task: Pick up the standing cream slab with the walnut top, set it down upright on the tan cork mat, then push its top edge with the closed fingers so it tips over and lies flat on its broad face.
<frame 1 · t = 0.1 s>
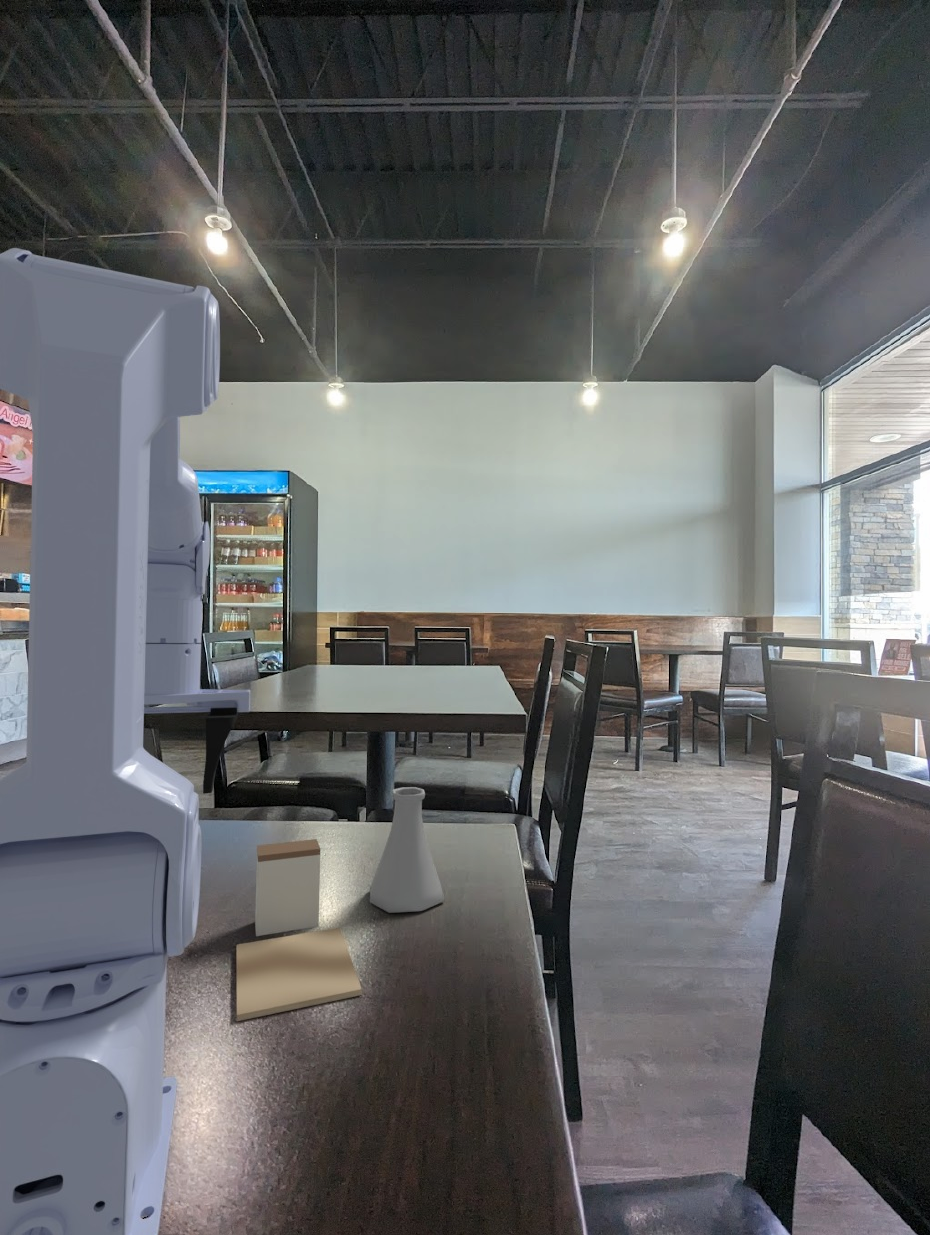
hand: (162, 793, 53), 10 cm above the table, tool pointing down, fingers open, 7 cm apart
cork mat: (295, 970, 43), on the table
flask: (406, 899, 55), on the table
cream slab: (286, 924, 50), on the table
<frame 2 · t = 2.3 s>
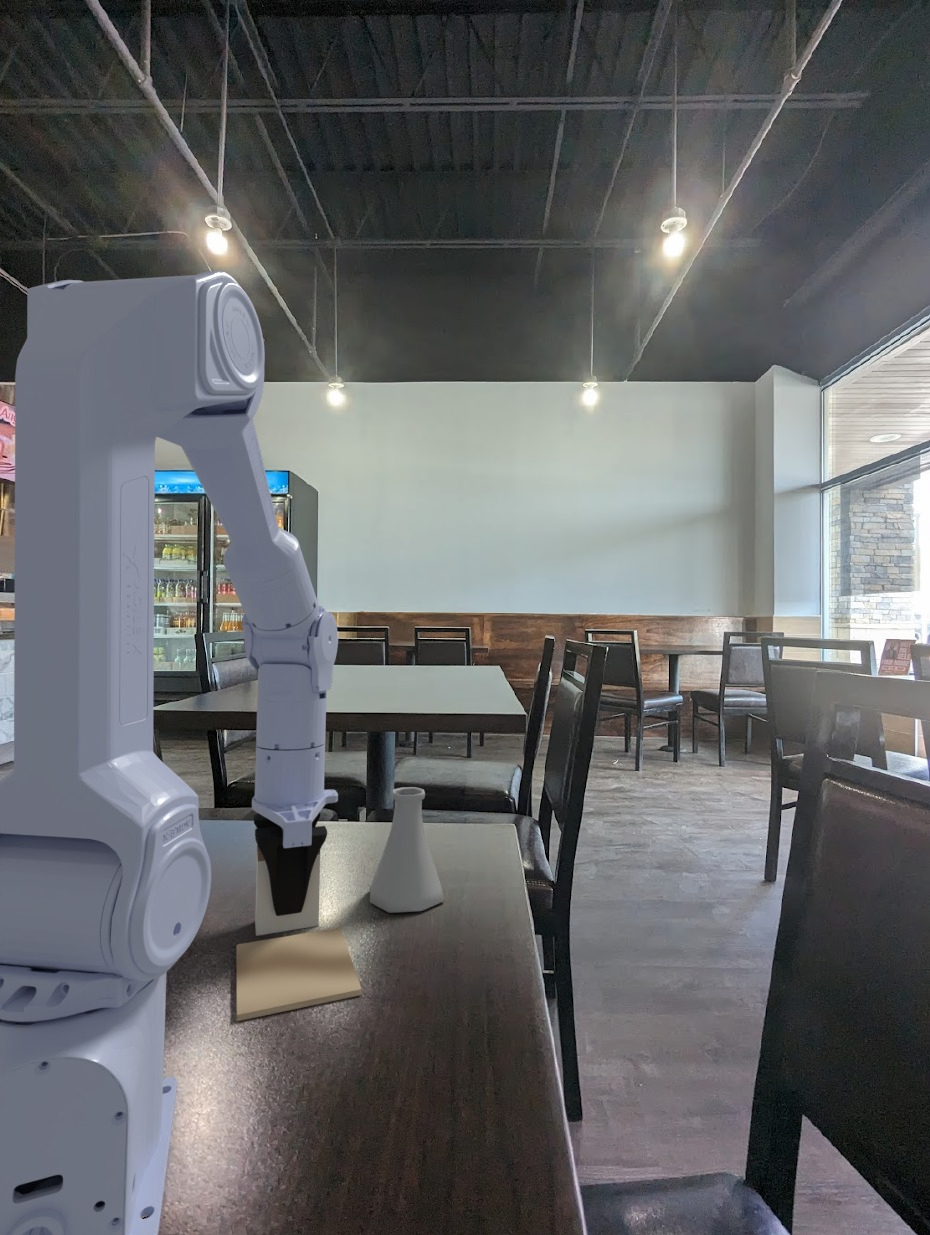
hand: (287, 904, 50), 2 cm above the table, tool pointing down, fingers closed on cream slab, 2 cm apart
cream slab: (286, 923, 50), on the table, touching gripper
everything else where it was.
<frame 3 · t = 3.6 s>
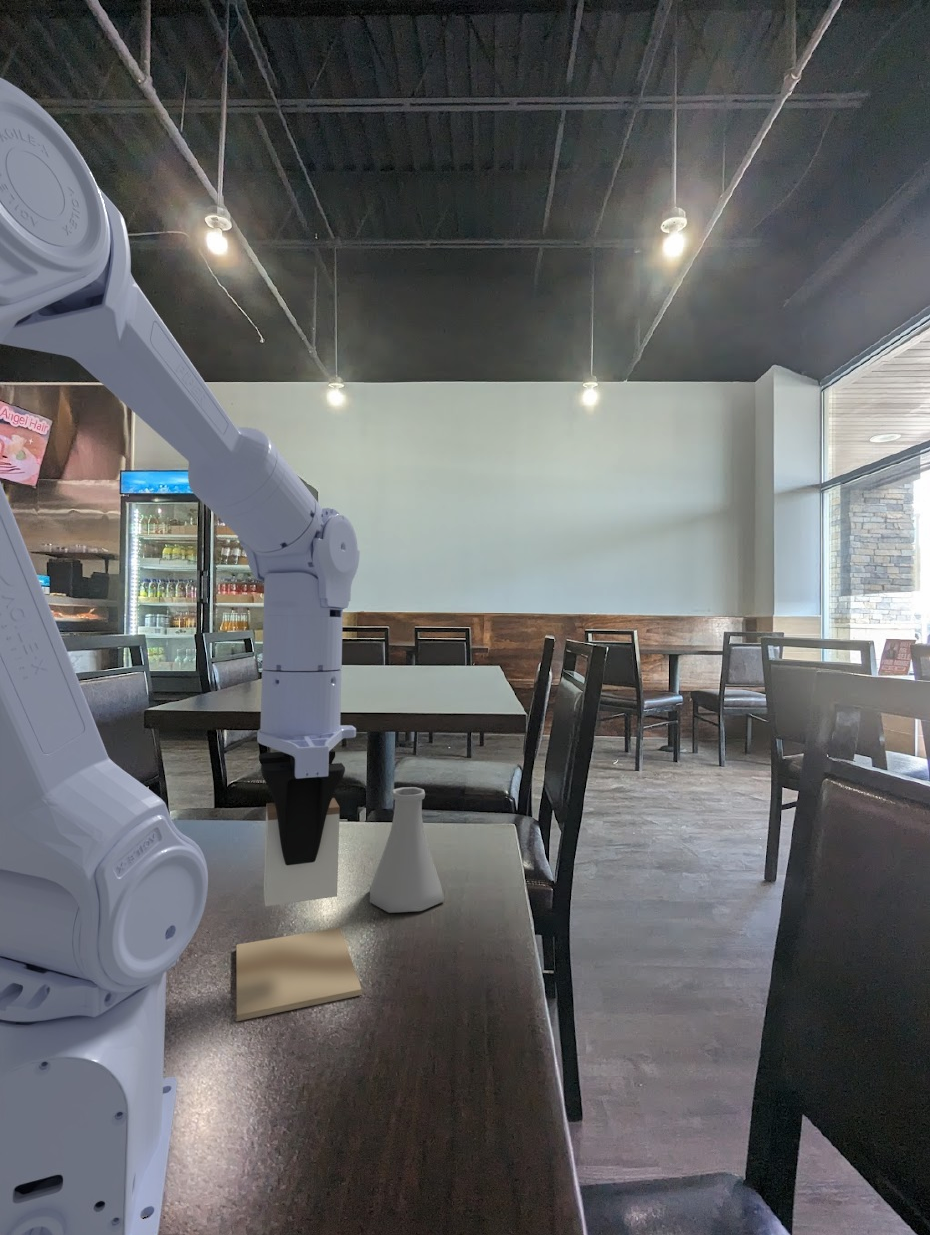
hand: (297, 854, 43), 8 cm above the table, tool pointing down, fingers closed on cream slab, 2 cm apart
cream slab: (300, 894, 43), point 6 cm above the table, touching gripper
everything else where it was.
when the fingers open (3 cm above the table, at t = 4.8 s): cream slab stays where it is, resting on cork mat.
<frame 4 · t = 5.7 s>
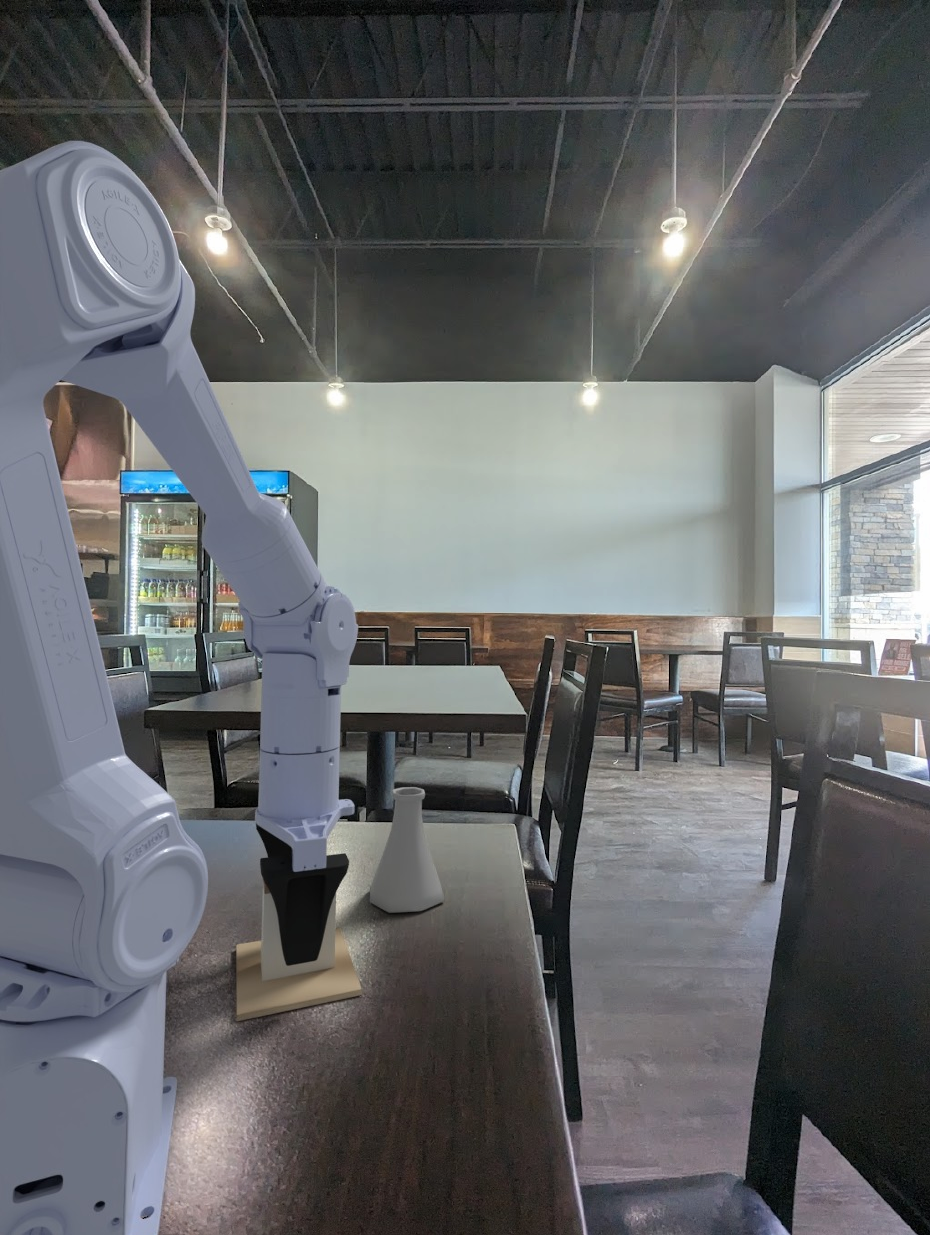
hand: (295, 933, 43), 3 cm above the table, tool pointing down, fingers open, 7 cm apart
cream slab: (297, 964, 43), resting on cork mat
everything else where it was.
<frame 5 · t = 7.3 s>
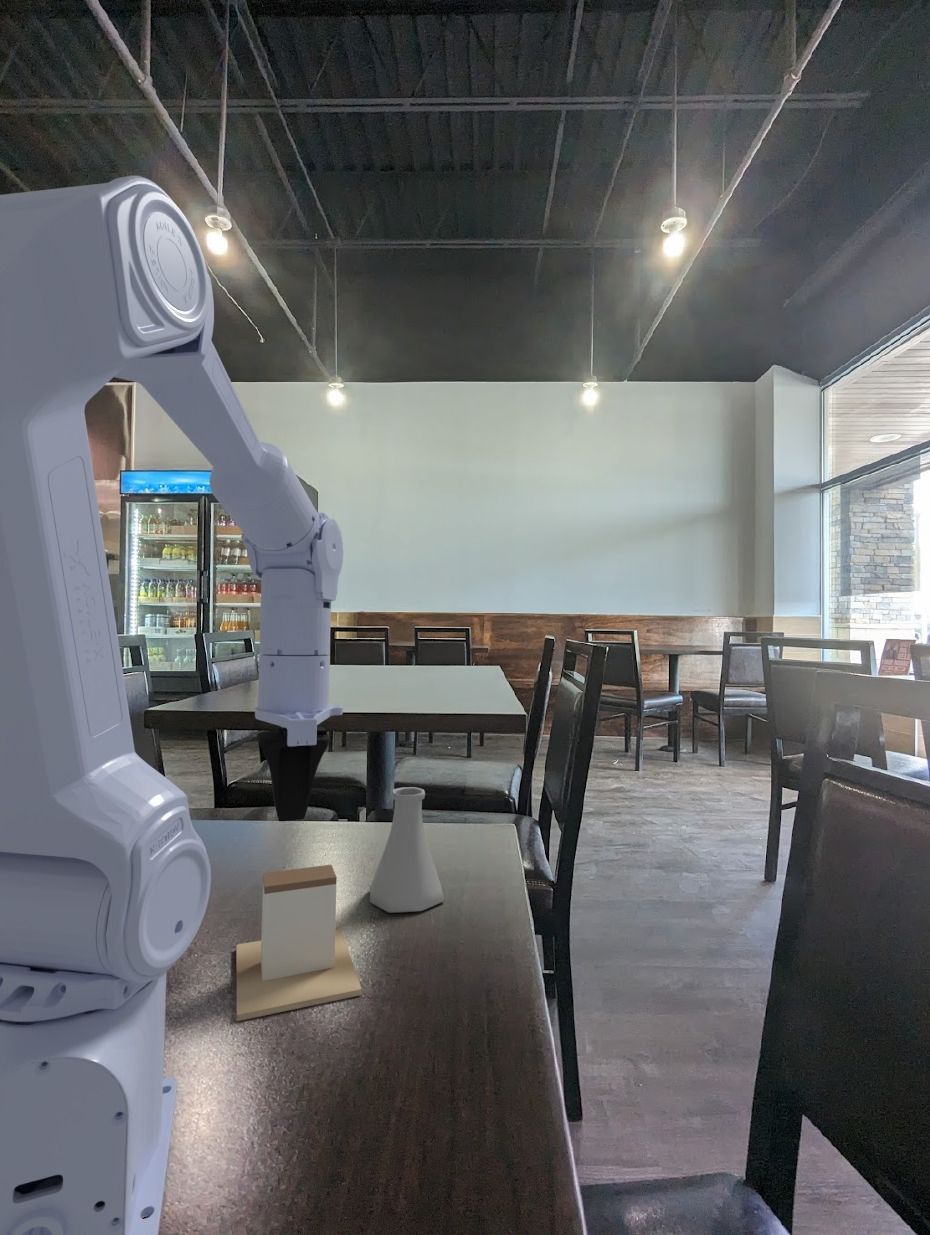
hand: (291, 818, 49), 9 cm above the table, tool pointing down, fingers closed
nothing on the table moved.
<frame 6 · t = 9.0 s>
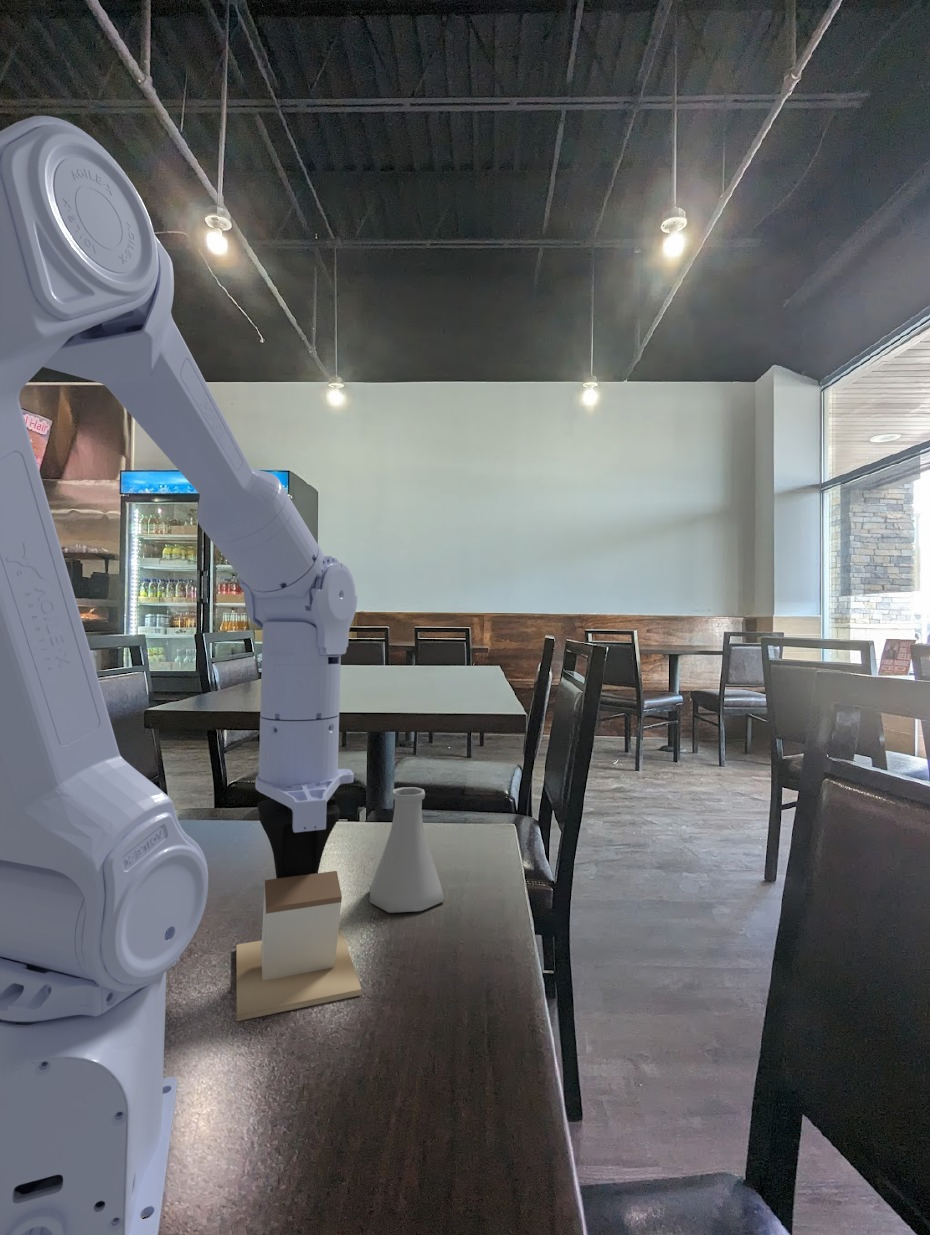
hand: (295, 899, 43), 5 cm above the table, tool pointing down, fingers closed
cream slab: (297, 959, 43), point 1 cm above the table, tilted 21°, touching cork mat
everything else where it was.
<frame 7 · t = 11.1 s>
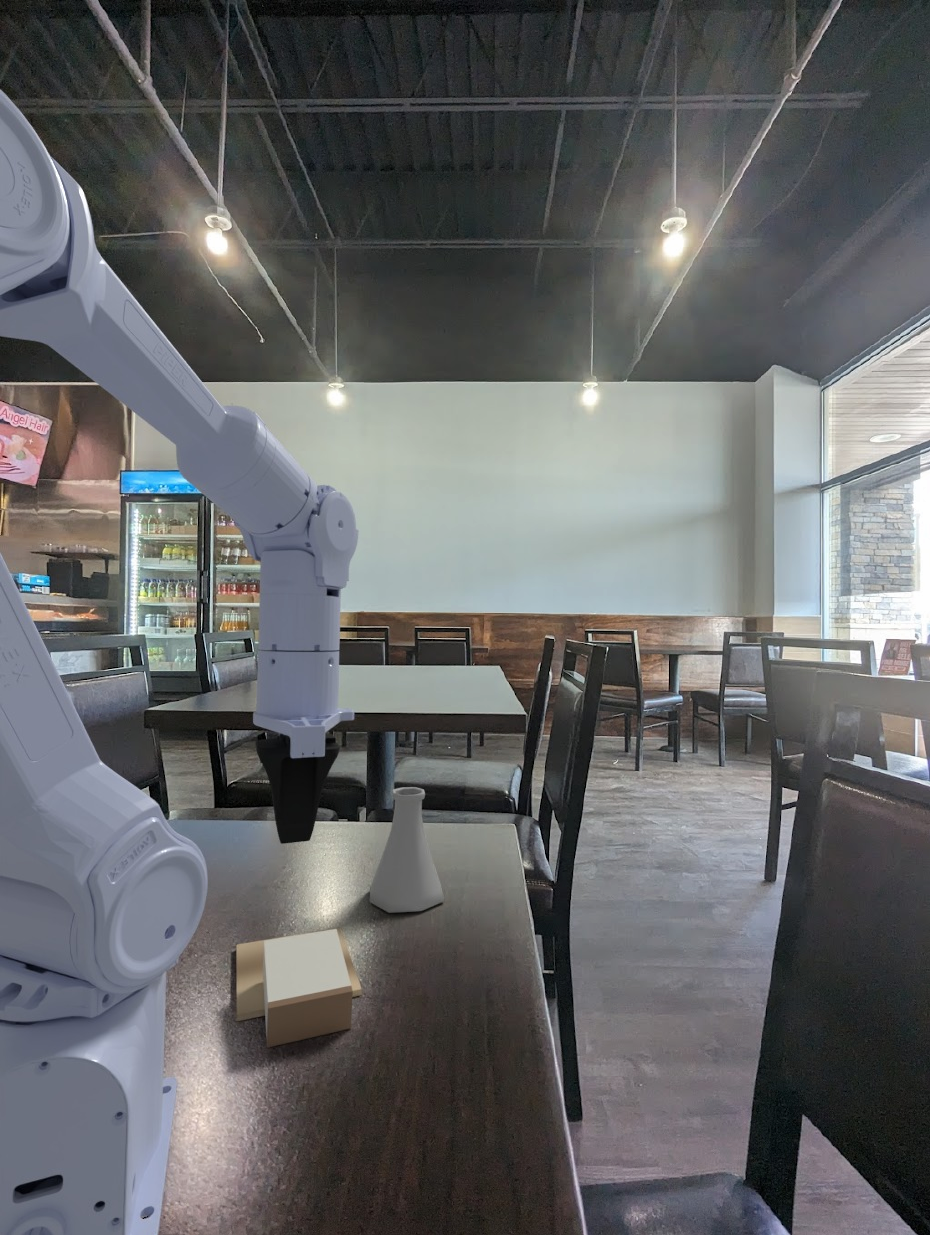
hand: (294, 839, 42), 10 cm above the table, tool pointing down, fingers closed
cream slab: (300, 951, 42), point 2 cm above the table, tilted 97°, touching cork mat
everything else where it was.
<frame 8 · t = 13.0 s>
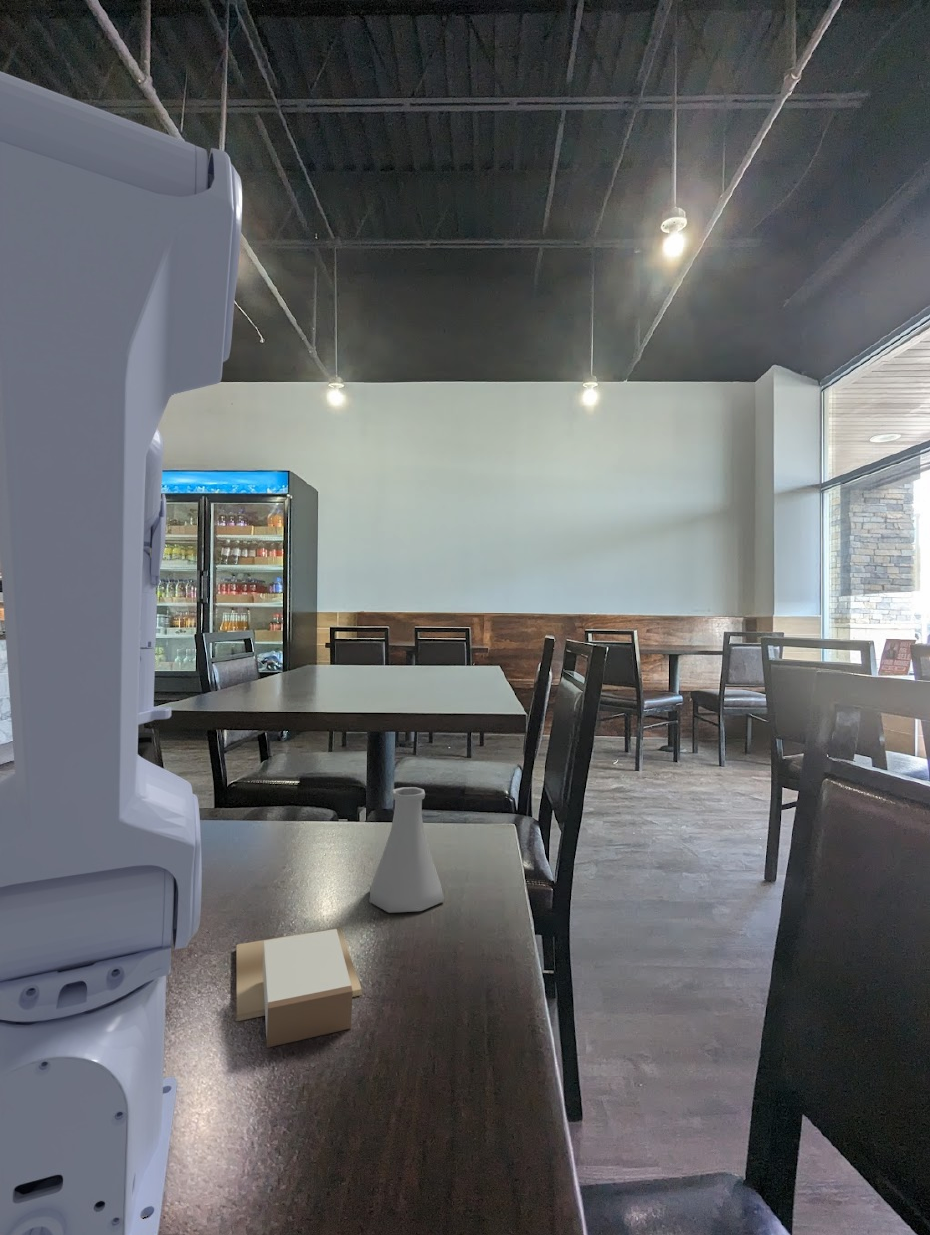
hand: (103, 841, 41), 10 cm above the table, tool pointing down, fingers closed
nothing on the table moved.
at the end: cream slab tilted 97°; cream slab inside the target area (0.6 cm from its centre), point 2.1 cm above the table; the gripper is holding nothing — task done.
